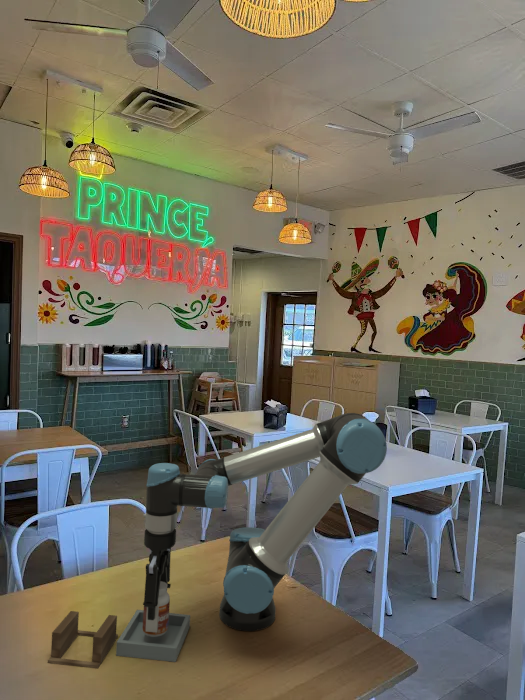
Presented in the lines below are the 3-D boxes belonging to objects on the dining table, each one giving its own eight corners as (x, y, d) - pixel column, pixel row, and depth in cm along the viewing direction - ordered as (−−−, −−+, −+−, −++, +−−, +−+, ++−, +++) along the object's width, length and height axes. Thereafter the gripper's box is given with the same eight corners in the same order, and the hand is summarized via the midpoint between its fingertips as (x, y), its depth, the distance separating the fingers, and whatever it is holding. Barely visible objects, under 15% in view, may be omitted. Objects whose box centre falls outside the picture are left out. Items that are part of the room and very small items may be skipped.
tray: (189, 626, 127) (190, 615, 127) (175, 661, 113) (176, 648, 113) (136, 621, 128) (137, 609, 128) (116, 655, 114) (116, 642, 114)
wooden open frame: (117, 636, 121) (119, 612, 121) (97, 668, 109) (99, 641, 109) (72, 632, 122) (73, 607, 122) (47, 662, 110) (48, 636, 110)
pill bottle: (156, 641, 116) (158, 594, 116) (136, 632, 119) (139, 586, 119) (173, 628, 121) (175, 583, 121) (154, 620, 124) (156, 576, 124)
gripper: (157, 513, 130) (152, 601, 130) (131, 543, 111) (126, 645, 111) (185, 516, 129) (180, 603, 129) (164, 546, 110) (159, 648, 110)
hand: (155, 622), depth 120 cm, fingers closed on pill bottle, 6 cm apart
